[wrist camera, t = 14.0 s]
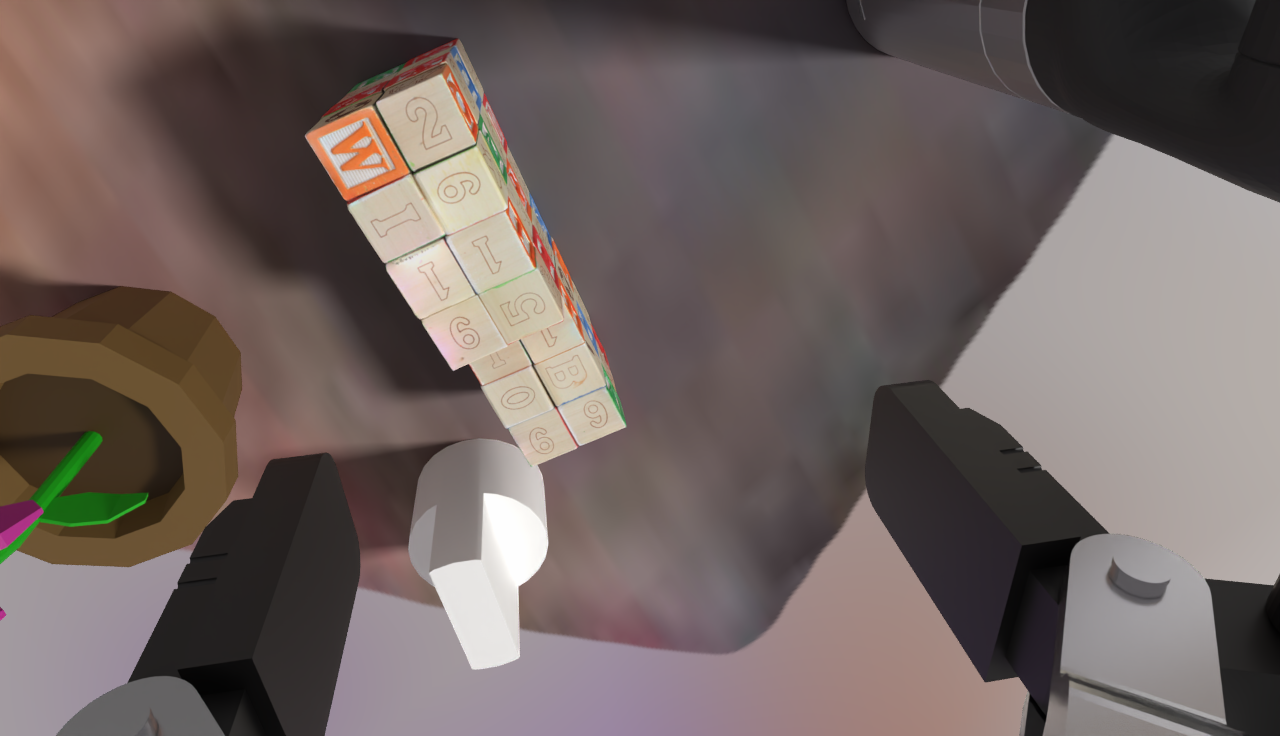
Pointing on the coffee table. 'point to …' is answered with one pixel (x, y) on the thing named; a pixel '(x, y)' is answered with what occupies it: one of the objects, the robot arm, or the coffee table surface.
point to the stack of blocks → (470, 247)
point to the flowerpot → (115, 428)
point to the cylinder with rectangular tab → (480, 541)
